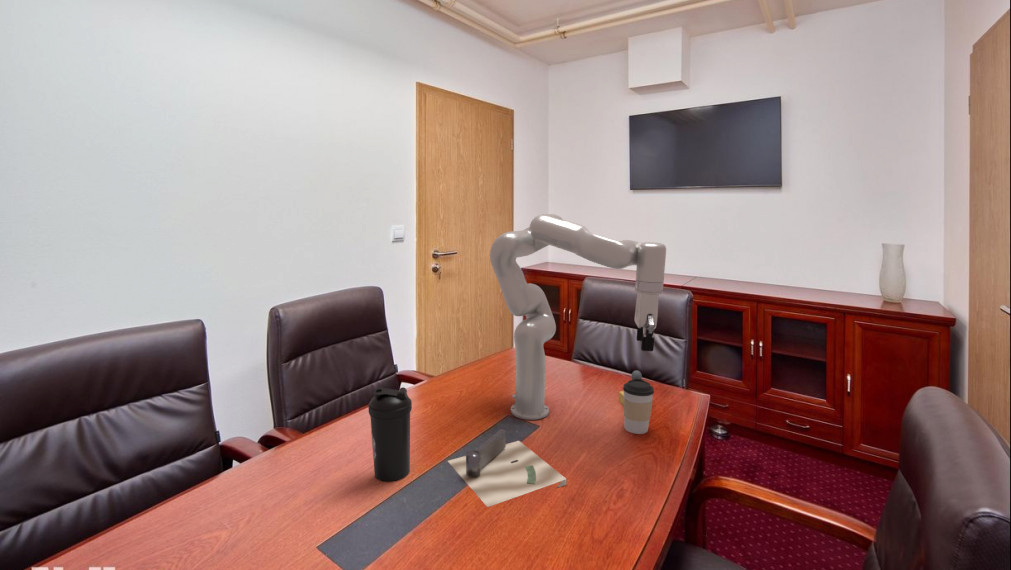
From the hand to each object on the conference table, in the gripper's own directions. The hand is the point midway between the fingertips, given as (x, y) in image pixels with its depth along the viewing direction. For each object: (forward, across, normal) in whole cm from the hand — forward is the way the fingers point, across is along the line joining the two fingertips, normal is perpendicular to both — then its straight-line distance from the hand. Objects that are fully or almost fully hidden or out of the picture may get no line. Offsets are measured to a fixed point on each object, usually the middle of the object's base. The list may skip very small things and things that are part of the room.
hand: (644, 345), depth 135 cm
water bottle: (+29, +32, -64) cm, 77 cm away
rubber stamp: (+29, -25, +2) cm, 38 cm away
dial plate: (+28, +26, -36) cm, 53 cm away
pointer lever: (+27, +24, -41) cm, 54 cm away
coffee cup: (+28, -5, 0) cm, 29 cm away
